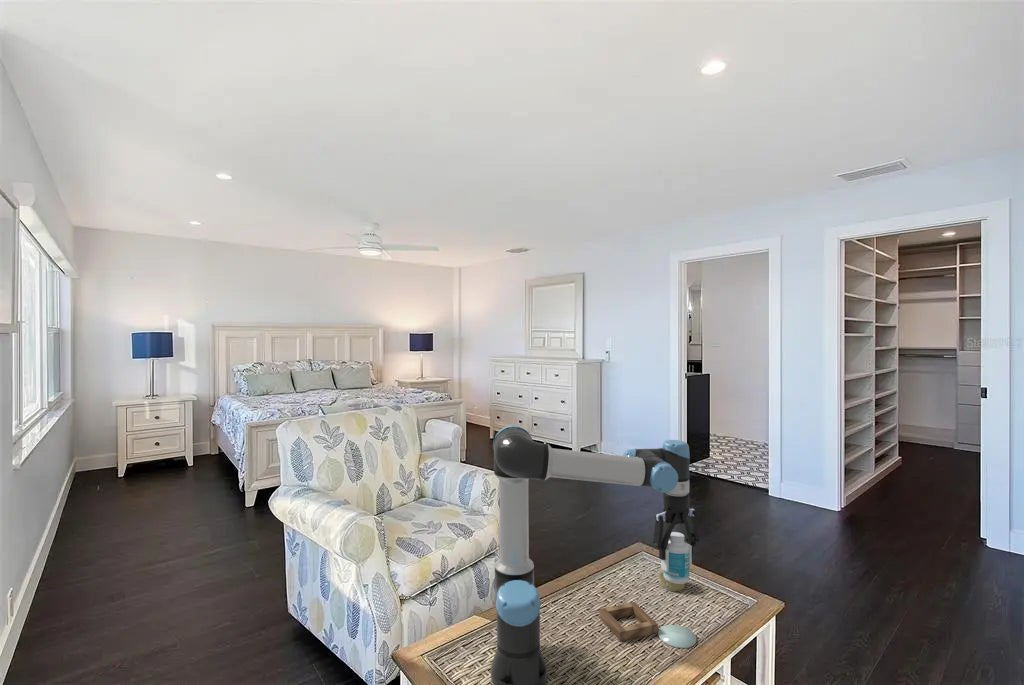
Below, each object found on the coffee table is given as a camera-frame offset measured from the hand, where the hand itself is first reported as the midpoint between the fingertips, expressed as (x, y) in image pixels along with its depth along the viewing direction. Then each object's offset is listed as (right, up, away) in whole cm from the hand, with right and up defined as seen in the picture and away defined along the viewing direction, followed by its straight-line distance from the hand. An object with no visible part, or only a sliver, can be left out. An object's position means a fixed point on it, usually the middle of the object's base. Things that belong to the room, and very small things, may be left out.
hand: (676, 567), depth 152 cm
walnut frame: (-13, -21, +7) cm, 26 cm away
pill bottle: (0, -4, 0) cm, 4 cm away
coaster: (0, -21, 0) cm, 21 cm away
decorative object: (+9, -21, +30) cm, 38 cm away
